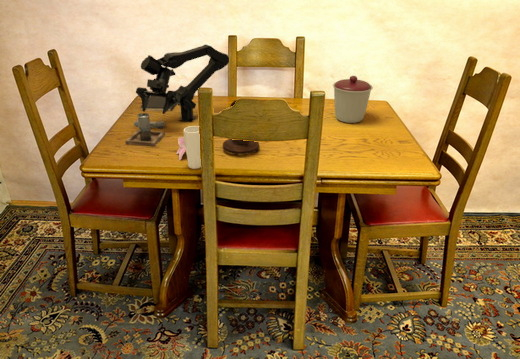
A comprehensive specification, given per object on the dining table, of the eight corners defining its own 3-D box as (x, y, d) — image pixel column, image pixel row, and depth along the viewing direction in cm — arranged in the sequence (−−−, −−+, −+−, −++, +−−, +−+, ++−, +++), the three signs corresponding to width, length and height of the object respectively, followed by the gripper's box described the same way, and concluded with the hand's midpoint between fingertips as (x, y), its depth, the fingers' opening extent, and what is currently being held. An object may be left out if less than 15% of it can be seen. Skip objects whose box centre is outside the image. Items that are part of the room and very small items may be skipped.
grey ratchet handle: (133, 127, 207) (133, 122, 206) (137, 123, 210) (136, 119, 209) (163, 129, 205) (162, 124, 204) (166, 125, 208) (165, 121, 207)
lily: (181, 149, 188) (169, 133, 181) (206, 140, 185) (195, 123, 179) (179, 169, 180) (166, 153, 173) (205, 160, 177) (193, 143, 170)
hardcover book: (140, 111, 227) (139, 107, 226) (153, 97, 248) (153, 93, 246) (171, 112, 226) (171, 108, 225) (182, 98, 246) (182, 94, 245)
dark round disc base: (216, 147, 188) (214, 100, 178) (247, 140, 195) (247, 94, 185) (233, 160, 177) (232, 111, 167) (265, 152, 183) (266, 105, 174)
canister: (366, 128, 208) (371, 83, 198) (326, 123, 213) (330, 79, 203) (370, 115, 223) (375, 72, 213) (333, 111, 228) (337, 69, 218)
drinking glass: (201, 171, 168) (198, 133, 161) (183, 169, 169) (180, 131, 162) (206, 163, 174) (204, 126, 167) (189, 161, 175) (187, 125, 168)
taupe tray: (138, 134, 201) (137, 129, 200) (165, 136, 199) (164, 131, 198) (126, 145, 190) (125, 140, 189) (154, 148, 188) (153, 143, 187)
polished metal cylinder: (142, 137, 196) (139, 112, 191) (153, 137, 196) (150, 113, 191) (138, 141, 192) (135, 116, 187) (149, 142, 192) (146, 117, 187)
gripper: (135, 68, 194) (125, 102, 190) (175, 72, 190) (166, 106, 186) (145, 81, 205) (136, 113, 201) (184, 85, 201) (175, 118, 197)
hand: (153, 112), depth 196 cm, fingers open, 9 cm apart
